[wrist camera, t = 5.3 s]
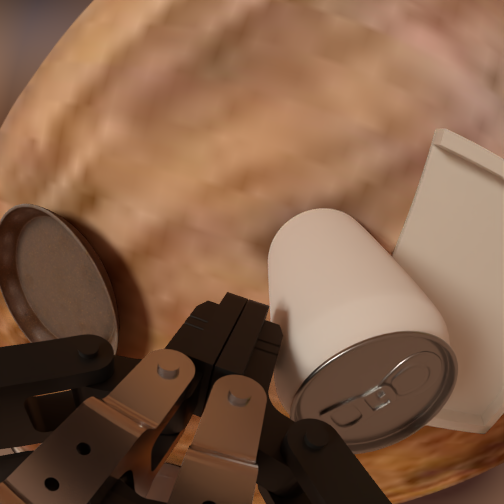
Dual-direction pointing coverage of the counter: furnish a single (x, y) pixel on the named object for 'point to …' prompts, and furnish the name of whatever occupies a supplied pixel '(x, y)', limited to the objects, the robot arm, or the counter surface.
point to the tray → (462, 270)
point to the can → (354, 333)
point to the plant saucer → (54, 278)
